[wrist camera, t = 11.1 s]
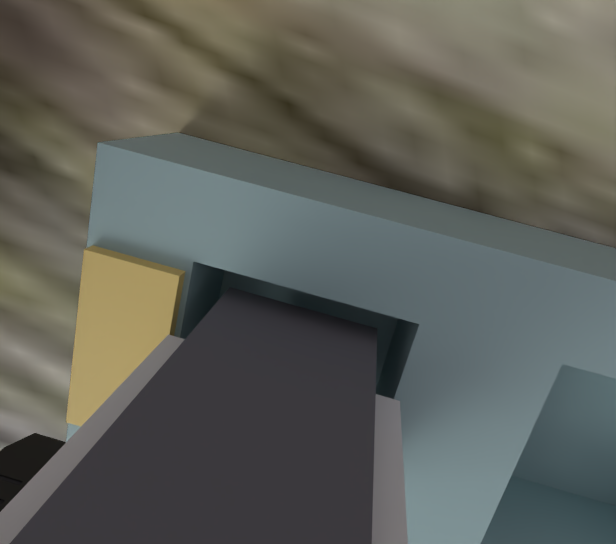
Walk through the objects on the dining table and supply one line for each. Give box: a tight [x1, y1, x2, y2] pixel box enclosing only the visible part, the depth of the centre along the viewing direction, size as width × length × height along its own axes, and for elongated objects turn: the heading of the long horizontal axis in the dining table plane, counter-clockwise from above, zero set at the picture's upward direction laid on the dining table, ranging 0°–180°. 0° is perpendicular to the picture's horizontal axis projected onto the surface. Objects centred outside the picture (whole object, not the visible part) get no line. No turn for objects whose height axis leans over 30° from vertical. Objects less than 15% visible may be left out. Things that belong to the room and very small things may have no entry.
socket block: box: [66, 133, 616, 544], centre depth 15 cm, size 10×20×5 cm, turn 76°
